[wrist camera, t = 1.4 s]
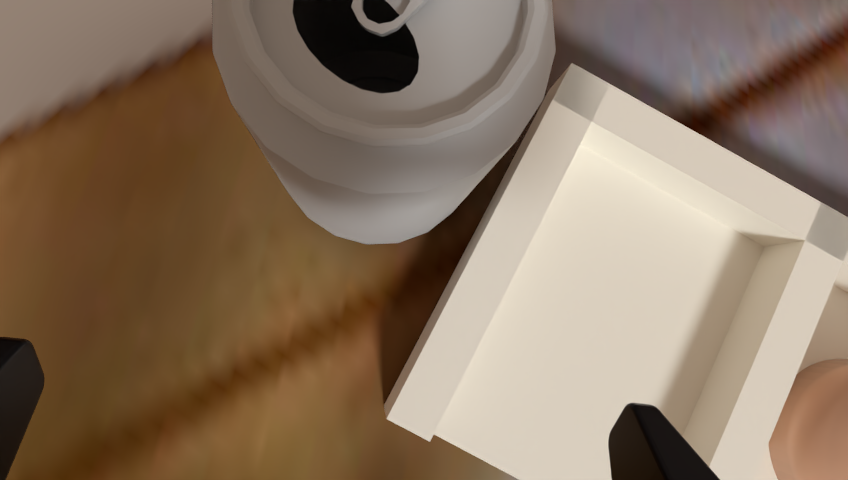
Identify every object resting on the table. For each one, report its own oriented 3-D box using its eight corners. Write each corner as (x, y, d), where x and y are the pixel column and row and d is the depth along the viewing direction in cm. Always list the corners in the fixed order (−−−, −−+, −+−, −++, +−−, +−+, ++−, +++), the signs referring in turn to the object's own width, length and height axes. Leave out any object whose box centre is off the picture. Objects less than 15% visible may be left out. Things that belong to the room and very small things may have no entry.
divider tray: (904, 682, 23) (977, 732, 20) (383, 405, 22) (386, 418, 19) (1019, 352, 25) (1099, 357, 22) (548, 90, 24) (571, 62, 21)
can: (237, 154, 22) (95, -22, 11) (372, 22, 24) (380, -270, 12) (383, 288, 22) (405, 261, 11) (510, 148, 24) (659, -16, 12)
